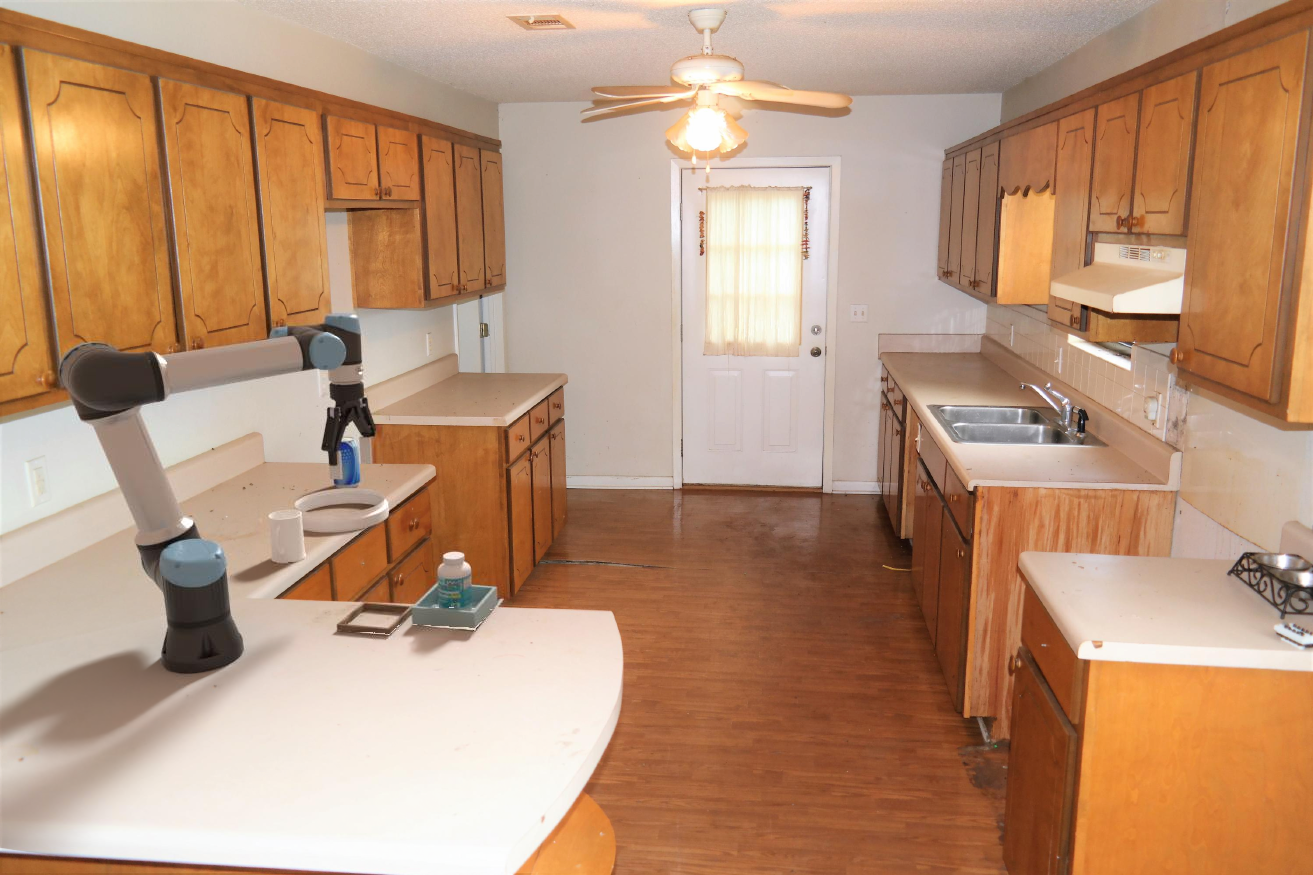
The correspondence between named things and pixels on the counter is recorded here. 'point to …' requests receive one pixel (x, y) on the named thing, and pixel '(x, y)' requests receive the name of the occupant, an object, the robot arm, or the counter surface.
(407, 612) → the frame
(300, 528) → the mug
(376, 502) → the white hollow ring
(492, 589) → the bin
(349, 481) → the beer can
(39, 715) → the counter surface
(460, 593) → the pill bottle
